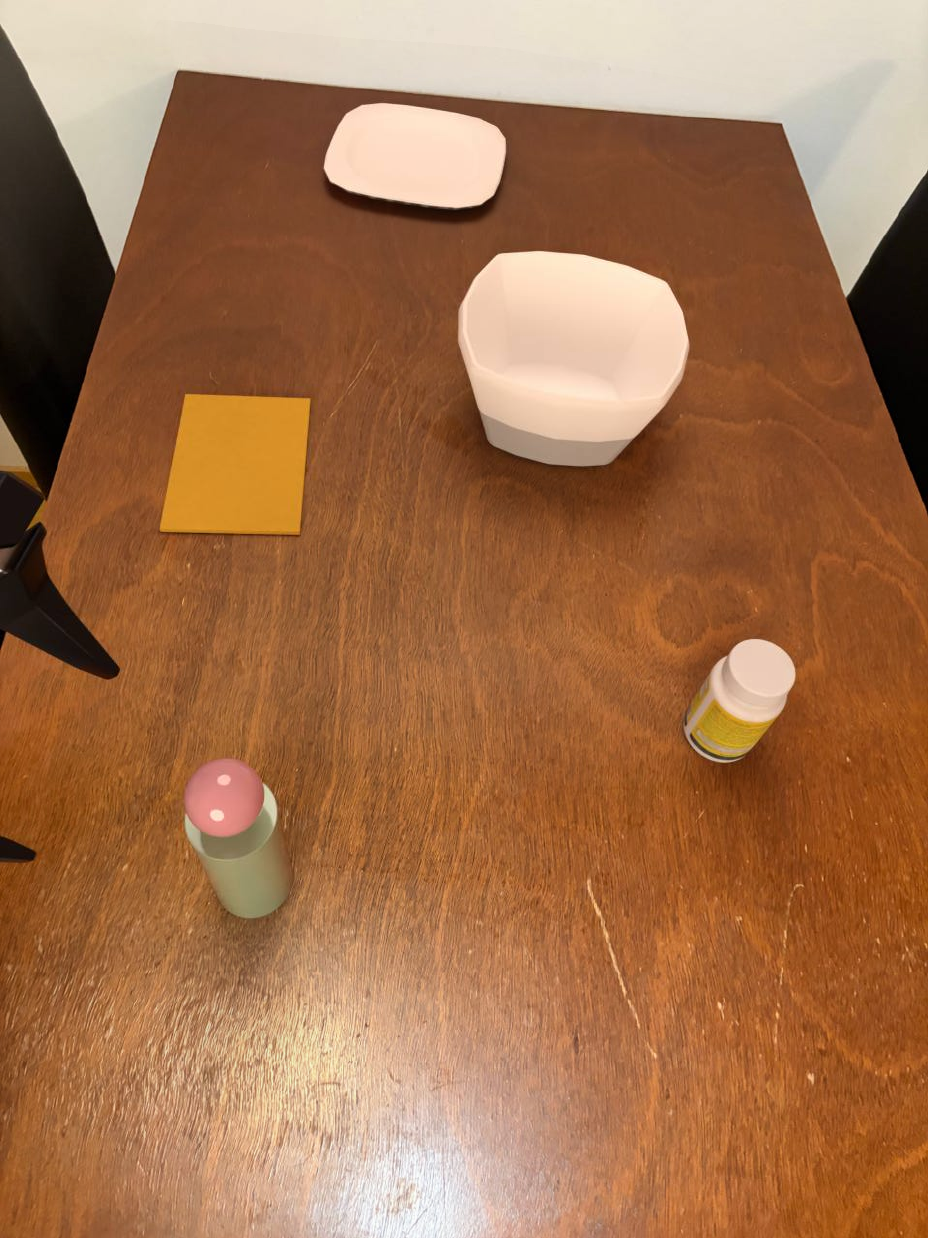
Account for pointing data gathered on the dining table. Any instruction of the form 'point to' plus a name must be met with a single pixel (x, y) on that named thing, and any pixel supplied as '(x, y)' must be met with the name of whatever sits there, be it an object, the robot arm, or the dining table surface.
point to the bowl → (569, 354)
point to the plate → (416, 156)
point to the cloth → (238, 466)
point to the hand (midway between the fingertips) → (75, 760)
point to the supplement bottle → (739, 700)
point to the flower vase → (238, 837)
